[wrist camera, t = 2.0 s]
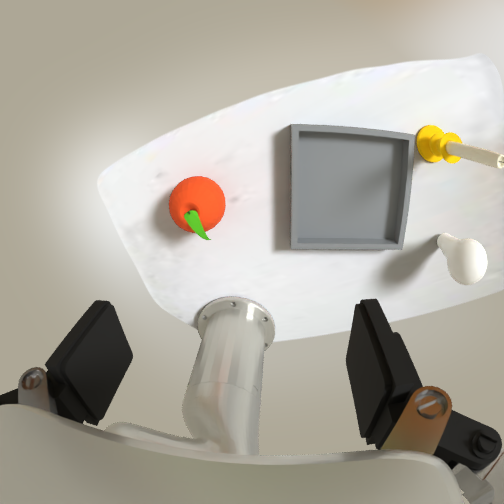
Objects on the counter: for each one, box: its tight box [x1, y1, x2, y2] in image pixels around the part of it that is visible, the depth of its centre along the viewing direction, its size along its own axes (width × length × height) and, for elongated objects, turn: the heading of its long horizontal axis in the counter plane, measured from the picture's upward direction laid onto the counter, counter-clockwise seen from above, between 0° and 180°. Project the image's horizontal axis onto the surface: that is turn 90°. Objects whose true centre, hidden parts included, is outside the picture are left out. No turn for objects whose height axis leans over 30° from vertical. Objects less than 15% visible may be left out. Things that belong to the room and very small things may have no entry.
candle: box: [417, 125, 504, 169], centre depth 24 cm, size 5×5×16 cm
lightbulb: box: [437, 233, 487, 285], centre depth 32 cm, size 6×6×11 cm
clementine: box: [169, 176, 225, 240], centre depth 34 cm, size 8×7×7 cm
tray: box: [290, 124, 415, 250], centre depth 34 cm, size 16×16×2 cm
